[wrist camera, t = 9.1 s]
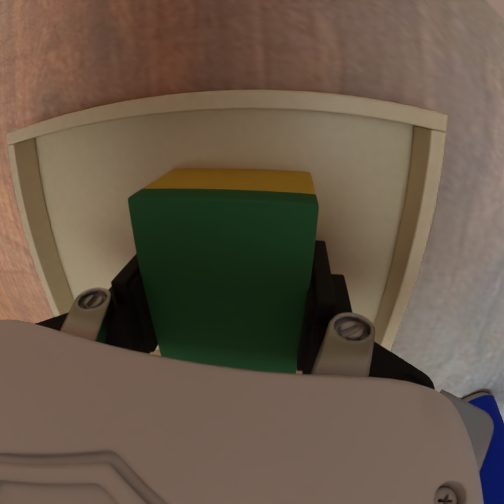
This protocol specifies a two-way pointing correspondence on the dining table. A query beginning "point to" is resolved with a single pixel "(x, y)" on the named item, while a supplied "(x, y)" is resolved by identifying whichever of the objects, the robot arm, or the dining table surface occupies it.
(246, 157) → the tray
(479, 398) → the beverage can
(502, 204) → the dining table surface
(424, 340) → the dining table surface
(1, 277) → the dining table surface
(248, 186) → the sponge
